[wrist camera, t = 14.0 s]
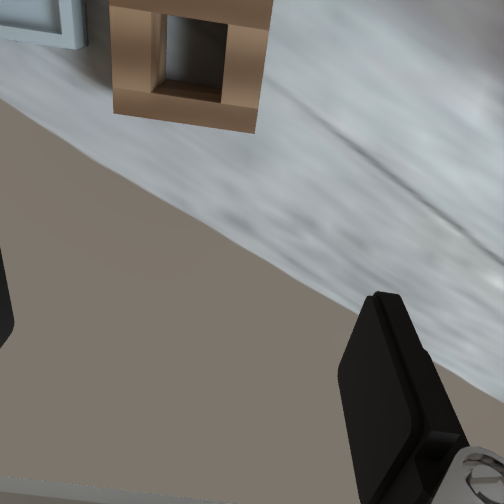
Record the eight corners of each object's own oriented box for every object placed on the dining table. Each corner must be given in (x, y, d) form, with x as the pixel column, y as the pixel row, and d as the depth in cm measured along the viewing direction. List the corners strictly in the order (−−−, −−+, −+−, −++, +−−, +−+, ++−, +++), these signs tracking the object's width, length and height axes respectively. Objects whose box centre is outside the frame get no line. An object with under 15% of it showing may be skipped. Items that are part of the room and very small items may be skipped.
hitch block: (131, -26, 35) (107, -29, 30) (272, -3, 35) (273, -2, 30) (132, 97, 40) (113, 113, 35) (255, 115, 41) (254, 133, 36)
